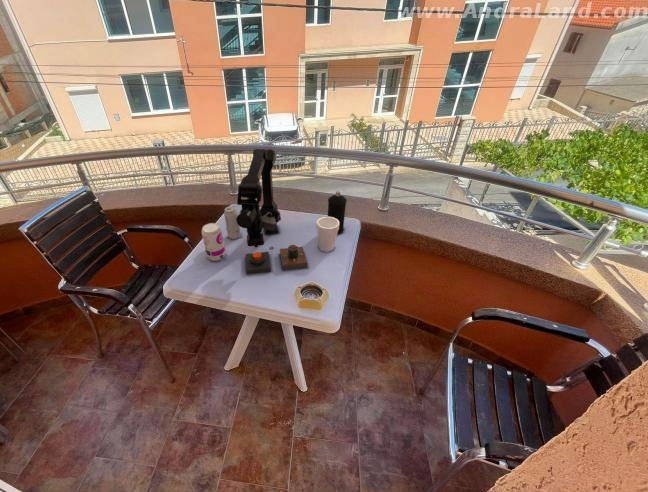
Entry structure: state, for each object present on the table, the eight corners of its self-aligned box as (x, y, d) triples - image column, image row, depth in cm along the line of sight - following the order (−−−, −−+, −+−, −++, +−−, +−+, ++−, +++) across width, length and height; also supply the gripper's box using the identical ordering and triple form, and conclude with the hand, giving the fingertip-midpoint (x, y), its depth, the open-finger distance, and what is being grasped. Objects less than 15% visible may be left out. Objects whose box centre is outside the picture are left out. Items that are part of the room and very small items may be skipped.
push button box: (246, 257, 140) (245, 250, 137) (268, 255, 140) (268, 248, 137) (246, 274, 131) (245, 266, 129) (271, 271, 132) (270, 264, 129)
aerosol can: (339, 236, 148) (343, 197, 135) (323, 231, 151) (325, 193, 138) (346, 227, 153) (350, 189, 140) (330, 223, 157) (333, 185, 144)
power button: (253, 255, 135) (252, 252, 133) (261, 254, 135) (261, 251, 134) (253, 260, 132) (253, 257, 131) (262, 260, 132) (261, 256, 131)
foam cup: (336, 254, 138) (338, 229, 129) (315, 253, 139) (315, 228, 131) (337, 241, 145) (339, 217, 136) (317, 240, 146) (318, 216, 138)
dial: (289, 258, 133) (288, 250, 130) (287, 252, 136) (287, 244, 133) (298, 257, 133) (298, 249, 130) (297, 251, 136) (296, 243, 133)
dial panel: (280, 254, 140) (279, 248, 138) (302, 251, 141) (302, 246, 138) (283, 270, 132) (282, 264, 130) (307, 267, 132) (307, 262, 130)
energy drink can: (240, 239, 150) (236, 212, 141) (227, 240, 151) (222, 212, 141) (241, 232, 155) (237, 205, 145) (229, 233, 155) (224, 205, 146)
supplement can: (228, 251, 144) (223, 223, 134) (220, 263, 138) (214, 234, 128) (212, 249, 146) (206, 221, 136) (204, 260, 140) (197, 231, 130)
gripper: (276, 224, 113) (278, 259, 123) (271, 199, 127) (273, 232, 137) (245, 227, 112) (249, 262, 122) (243, 202, 127) (248, 234, 137)
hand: (256, 246), depth 130 cm, fingers closed
